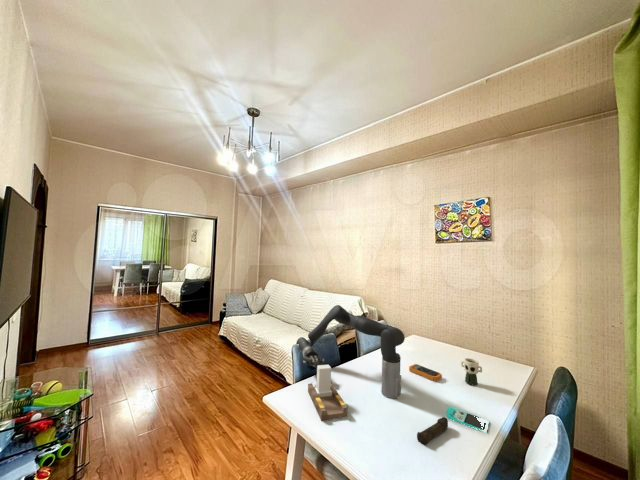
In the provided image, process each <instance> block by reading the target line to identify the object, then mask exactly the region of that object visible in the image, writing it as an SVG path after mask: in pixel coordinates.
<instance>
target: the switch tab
mask: <svg viewBox="0 0 640 480" xmlns="http://www.w3.org/2000/svg"><path fill="white" fill-rule="evenodd" d="M331 376H332V367H331V366H330V365H329V364H321V365H318V366H317V369H316V386H314V387H315V390H316V392H317V394H318V396H319V397H326V396H332V391H331V389H330V386H331V383H332V382H331V381H332V379H331V378H332V377H331Z"/></svg>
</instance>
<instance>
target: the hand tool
mask: <svg viewBox="0 0 640 480" xmlns="http://www.w3.org/2000/svg"><path fill="white" fill-rule="evenodd" d="M448 427H449V419H448V417H447V416H446V417H445V416H443V417H440V418H438V419H437V420H436V422H435V423H434V424H432V425H431V426H429V427H427V428H425V429H424V430H422V431H418V432H417V434H416V438H417V442H418V443H420V444H421V445H423V446H426V445H428V443H429V441H431V440H432V439H435V438H436V437H437V436H438V435H440V434H444V433H445V432H446V431H447V429H448Z"/></svg>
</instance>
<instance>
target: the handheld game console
mask: <svg viewBox="0 0 640 480" xmlns="http://www.w3.org/2000/svg"><path fill="white" fill-rule="evenodd" d="M474 416H475V417H474ZM476 417H478V418H479V417H480V416H478V415H476V414H472V413H469V412H466V411H465V410H464V411H463V410H461V409H458V408H455V407H452V406H449V408H448V411H447V412H446V418H447V419H448V420H450V419H452V420H451V421H453V420H454V422H456V423H458V422H459V423H458V424H461V423H462V424H461V425H463V424H465V425H464V426H466V425H467V426H466V427H468V426H470V427H469V428H471V427H474V428H477V429H480V430H484V429H485V425H486V423H484V427H483V426H481V424H480V423H481V422H479V421H478V420H477V418H476ZM481 427H483V429H482V428H481ZM474 428H473V429H474Z"/></svg>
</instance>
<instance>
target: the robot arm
mask: <svg viewBox="0 0 640 480" xmlns="http://www.w3.org/2000/svg"><path fill="white" fill-rule="evenodd" d="M333 320H334V321H336V322H337V323H339V324H342V325H345V326H349V327H350V328H352V329H354V330H356V331H357V332H359V333H362V334H364V335H368V336H374V337H379V338H380V353H381V356H382V357H381V360H382V361H381V387H380V388H381V389H380V391H381V394H382V395H383V396H384V397H386V398H389V399H390V398H391V399H399V398H400V396H401V394H402V375H401V358H402V357H401V354H399V353H397V348H396V347H399V346H401V345H402V344H403V343H404V342H405V334H404V332H403V331H402V330H401V329H399V328H398V327H394V326H391V325H387V324H383V323H382V322H379V321H377V320H374V319H372V318H369V317H366V316H365V315H360V314H359V315H354V314H352V313H350V312H349V311H347V310H346V309H345V308H344V307H343V306H341V305H340V304H336V305H334V306H333V307H332V308H331V309H330V310H329V311H328V312H327V314H326V315H325V316H324V317H323V319H322V320H321V321H320V322H319V324H318V325H316V326H315V327H314V328H313V329H312V330H311V331H310V332H309V333H307V338H308V340H309V341H308V340H307V339H306V338H305V337H299V338H298V339H297V340H296V344H299V348H298V350H300V351H301V354H302V356H303V359H302V364H303V365H306V366H309V367H314V369H316V370H317V366H318V365H323V364H324V362H325V357H324V356H322V357H321V356H319V354H318V353H317V351H316V350H315V348H314V345H315V344H316V343H317V342H318V341H319V340H320V339H321V338H322V337H323V336H324V335H325V333H326V331H327V329H328V326H329V324H330V323H331V322H332V321H333ZM303 342H304V343H303Z"/></svg>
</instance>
